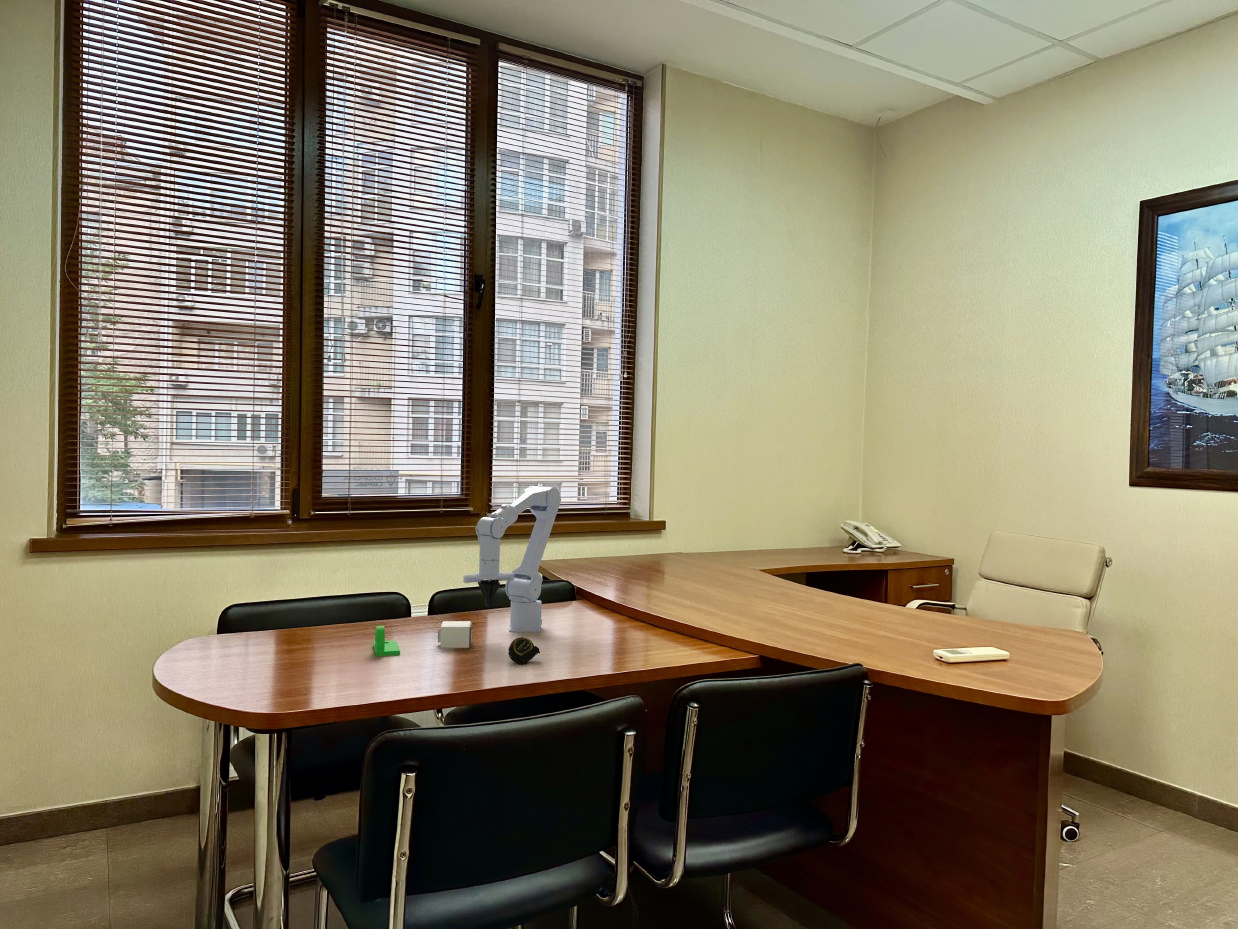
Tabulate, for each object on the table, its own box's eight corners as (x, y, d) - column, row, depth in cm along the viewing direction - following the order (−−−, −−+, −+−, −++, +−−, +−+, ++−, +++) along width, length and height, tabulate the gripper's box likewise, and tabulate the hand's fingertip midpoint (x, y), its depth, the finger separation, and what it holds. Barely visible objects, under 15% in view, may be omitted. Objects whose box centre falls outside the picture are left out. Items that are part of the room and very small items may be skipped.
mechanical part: (400, 658, 226) (400, 627, 225) (376, 659, 224) (376, 628, 223) (395, 647, 237) (396, 618, 237) (373, 648, 235) (373, 619, 235)
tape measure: (520, 671, 219) (523, 664, 217) (501, 653, 221) (505, 645, 218) (538, 656, 224) (542, 649, 221) (519, 638, 226) (523, 630, 223)
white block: (471, 643, 242) (472, 621, 242) (470, 649, 235) (470, 626, 235) (442, 643, 241) (443, 621, 241) (440, 649, 234) (441, 626, 234)
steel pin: (471, 640, 241) (471, 628, 240) (470, 644, 237) (471, 630, 237) (438, 640, 239) (438, 628, 239) (437, 644, 236) (437, 630, 236)
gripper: (508, 556, 254) (507, 602, 254) (460, 558, 247) (459, 605, 248) (517, 559, 248) (516, 607, 248) (468, 562, 241) (467, 610, 241)
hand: (488, 606), depth 247 cm, fingers closed
